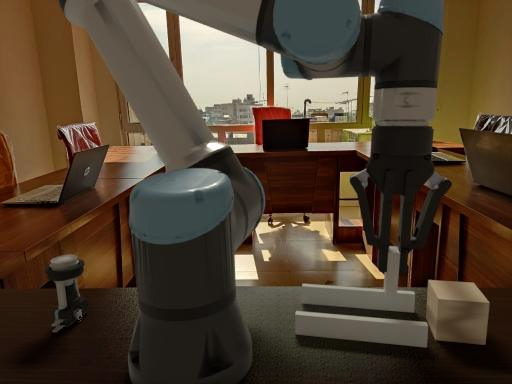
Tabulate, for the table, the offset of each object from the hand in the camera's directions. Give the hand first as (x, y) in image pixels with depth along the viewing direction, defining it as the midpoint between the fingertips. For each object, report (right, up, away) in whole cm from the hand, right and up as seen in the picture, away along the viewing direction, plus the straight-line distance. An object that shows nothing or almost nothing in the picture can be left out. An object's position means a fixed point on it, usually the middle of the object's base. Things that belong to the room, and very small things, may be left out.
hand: (389, 292), depth 53 cm
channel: (-4, -5, +2) cm, 7 cm away
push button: (-47, -6, +4) cm, 48 cm away
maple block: (+9, -5, -1) cm, 10 cm away
